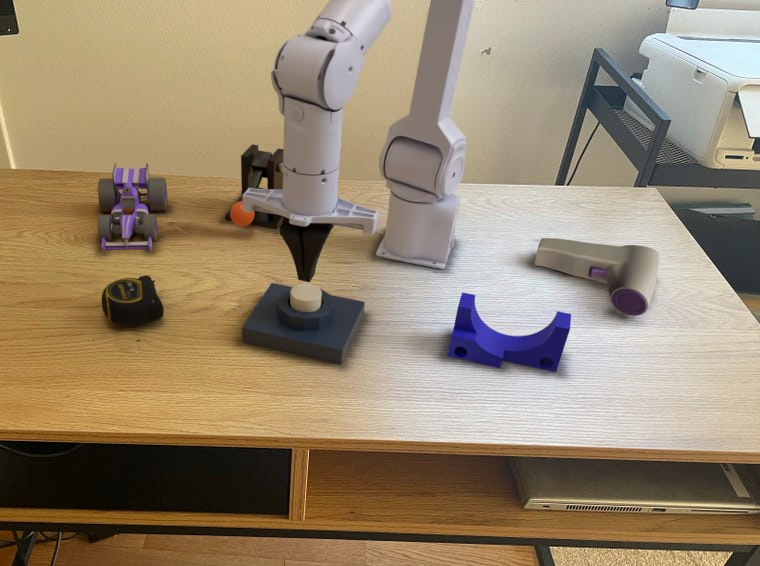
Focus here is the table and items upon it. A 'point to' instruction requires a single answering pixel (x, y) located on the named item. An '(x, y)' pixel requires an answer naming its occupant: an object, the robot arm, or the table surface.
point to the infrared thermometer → (607, 269)
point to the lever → (258, 173)
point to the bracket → (272, 184)
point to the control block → (304, 325)
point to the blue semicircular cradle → (506, 340)
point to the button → (305, 297)
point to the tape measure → (132, 301)
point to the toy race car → (130, 207)
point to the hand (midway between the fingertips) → (306, 276)
